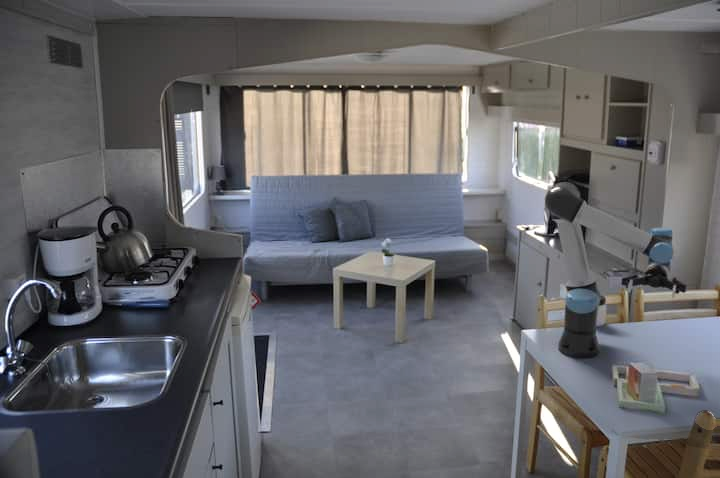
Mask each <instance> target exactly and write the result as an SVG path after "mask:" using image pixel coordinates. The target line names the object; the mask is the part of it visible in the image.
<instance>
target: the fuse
mask: <svg viewBox="0 0 720 478" xmlns="http://www.w3.org/2000/svg"><path fill="white" fill-rule="evenodd" d="M628 371H629V366H627V367H626V371H625V374H624V376H625V377H624V378H625V379H628Z"/></svg>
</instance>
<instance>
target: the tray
mask: <svg viewBox="0 0 720 478" xmlns="http://www.w3.org/2000/svg"><path fill="white" fill-rule="evenodd" d="M616 392H617V393H616V394H617V399H618V408H620V409H624V410H625V409H626V410H633V411H641V412H649V413H653V414H654V413H655V414H663V415H665V410H666V404H665V401H664V396H663V392H661V388H660V385H657V388H656V397H655V403H648V402H641V401H636V400H635V399H634V398H633V397H632V396H631V395H629V394H628V393H627V381H621V380H617V386H616Z"/></svg>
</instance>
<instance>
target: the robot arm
mask: <svg viewBox="0 0 720 478" xmlns="http://www.w3.org/2000/svg"><path fill="white" fill-rule="evenodd" d="M544 205H545V208H546V210H547V211H548V213H550V216H551V220H552V221H554V222H555V223H556V225H557V230H558V235H559V240H560V241H559V242H560V245H561V250H562V255H563V259H564V264H565V269H566V273H567V281H566V282H565V288H566V295H565V300H564V302H565V306H564V307H565V308H564V323H563V330H562V333H561V335H560V339H559V341H558V344H557V345H558V347H557V348H558V351H559V352H560V353H561V354H564V355H566V356H569V357H573V358H580V359H590V358H595V357H597V356H598V355H599V354H600V344H599V340H598V336H597V333H596V332H597V326H596V322H597V311H598V307H599V303H600V299H601V297H600V295H601V292H600V291H599V289H598V285H597V280H596V278H595V277H593V276H592V275H591V270H590V265H589V261H588V256H587V251H586V246H585V242H584V235H583V230H582V227H583V226H584V227H585V228H588V229H590V230H592V231H593V232H597V233H598V234H600V235H603V236H605V237H606V238H609V239H611V240H613V241H615V242H618V243H619V244H621V245H623V246H626V247H628V248H630V249H631V250H635V251H637V252H638V253H640V254H642V255H644V256H646V257H648V258H647V268H646V270H645V272H644V274H643V275H640V274H639V273H637V272H635V273H633V274H631V275H627V276H625V277H624V276H623V277H622V278H621V283H620V284H621V286H625V288H626V289H627V293H631V291H632V289H633V287H635V286H649V287H651V288H654V289H655V288H656V289H658V288H662V289H663V288H666V289H668V290H671V291H672V293H671V298H672V299H675V297H676V294H678V295H679V294H680V292H681V293H684V294H685V293H686V291H687V290H686V289H687V285H686V284H685V283H683V282H681V280H678V279H677V277H672V278H670V279H669V273H670V270H671V261H672V259H673V257H674V254H675V252H674V251H675V250H674V247H673V238H674V237H673V230H672V229H670V228H667V227H654V228H651V229H650V233H649V232H647V231H645V230H643V229H641V228H639V227H636V226H634V225H632V224H630V223H627V222H625V221H623V220H621V219H619V218H617V217H614V216H613V215H611V214H608V213H607V212H604V211H601V210H600V209H597V208H595V207H593V206H591V205H588V204H587V201H586V200H584V199H583V198H581V193H580V191H579V189H578V188H577V186H576V185H574V184H573V183H571V182H566V181H565V182H558V183H556V184H555V185H552V186H551V188H550V189H549V190H548V192H547V193H546V194H545V196H544Z"/></svg>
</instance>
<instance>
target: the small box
mask: <svg viewBox="0 0 720 478" xmlns="http://www.w3.org/2000/svg"><path fill="white" fill-rule="evenodd" d="M628 367H629V371H628V381H627V393H628V394H629V395H631V396H632V397H633V398H634V399H635V400H636V401H641V402H648V403H655V397H656V388H657V380H658V379H659V378H658V373H657V372H656V371H655V370H656V369H653V368H652V367H651V366H650V365H648V363H646V362H629V363H628Z"/></svg>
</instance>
